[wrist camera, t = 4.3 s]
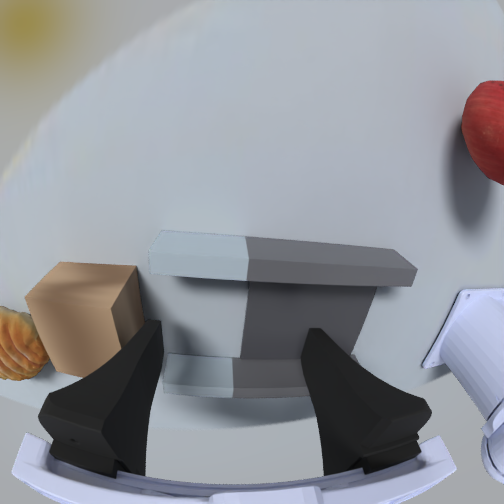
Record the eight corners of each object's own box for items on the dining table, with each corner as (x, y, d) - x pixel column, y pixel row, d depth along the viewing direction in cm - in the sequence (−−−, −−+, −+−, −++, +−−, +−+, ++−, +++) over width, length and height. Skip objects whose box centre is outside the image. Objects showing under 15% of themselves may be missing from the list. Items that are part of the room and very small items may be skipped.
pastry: (23, 284, 13) (-6, 316, 10) (75, 359, 16) (57, 395, 13) (-23, 310, 14) (-44, 335, 10) (18, 367, 16) (3, 395, 13)
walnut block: (136, 264, 13) (110, 308, 10) (148, 337, 15) (133, 386, 12) (61, 260, 13) (24, 297, 9) (80, 329, 15) (56, 371, 11)
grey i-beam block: (393, 249, 14) (417, 269, 12) (349, 364, 18) (361, 389, 15) (161, 230, 13) (148, 251, 10) (169, 363, 16) (164, 393, 14)
